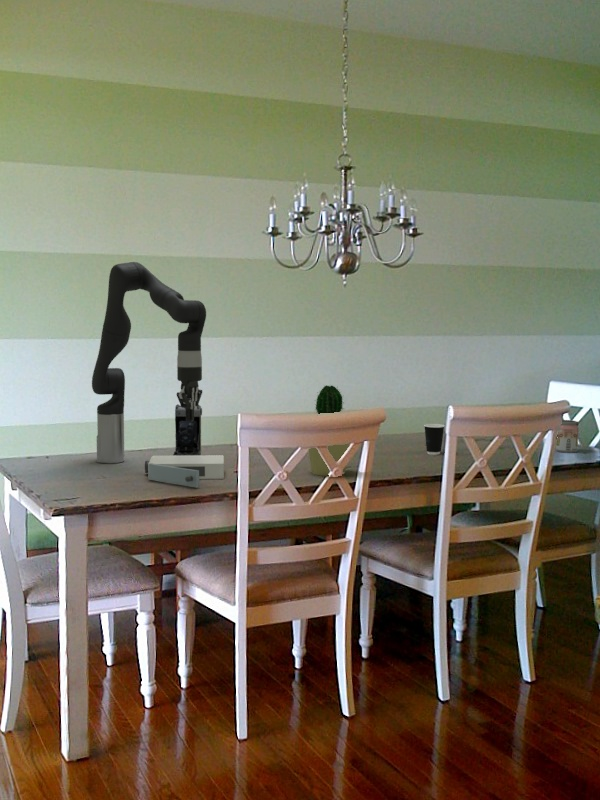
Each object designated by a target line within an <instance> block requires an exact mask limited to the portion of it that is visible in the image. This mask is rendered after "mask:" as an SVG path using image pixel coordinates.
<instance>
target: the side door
mask: <svg viewBox="0 0 600 800" xmlns="http://www.w3.org/2000/svg"><path fill="white" fill-rule="evenodd" d="M148 481H157V482H161V483H168V484H174V485H180V486H186V487H187V486H188V487H190V488H191V487H193V488H199V487H200V479H199V470H192V469H185V468H179V467H172V466H165V465H158V464H153V463H149V480H148Z"/></svg>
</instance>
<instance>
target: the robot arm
mask: <svg viewBox="0 0 600 800" xmlns="http://www.w3.org/2000/svg"><path fill="white" fill-rule="evenodd" d="M137 290H143V291H145V292H147V293H149V297H150V299H151V301H152V303H154V305H156V307H159V308H160V309H162V310H164V312H167V314H168V315H169V317H170V318H171V319H172V320H174V322H177V323H179V324H188V325H187V328H186V330H183V331H181V332H179V333H178V336H177V359H176V360H177V361H176V363H177V367H176V369H177V370H176V372H177V375H176V376H177V377H176V379H177V381H179V382H181V383H180V384H181V385H180V391H178V392H176V398H177V399H178V402H179V405H180V406H181V407H182V408H184V409H185V410H186V421H190V422H191V421H194V409H195V407H196V406H198V405H200V404H199V403H200V400H201V397H202V395H203V389H200V388H199V387H200V386H199V382H201V381H202V380H203V357H202V336H203V335H202V334H203V331H204V327H205V322H206V319H207V309H206V307H205V305H204V303H203V302H202V301H200V300H193V299H192V300H191V299H187V300H186V299H184V296H183V295H182V294H181V293H180V292H178V291H176V290H175V289H173V288H172V287H169V286H168V285H167V284H165V283H163V282H162V281H161V280H159V278H158V277H156V276H155V275H154V274H153V273H152V272H151V271H149V270H148V269H147V267H146V266H144V265H143V264H142V263H139V262H136V261H131V262H124V263H117V264H114V265H113V266H112V267H111V269H110V273H109V277H108V290H107V291H108V292H107V301H106V302H107V303H106V308H105V313H104V314H105V315H104V321H103V325H102V330H101V338H100V343H99V350H98V353H97V354H98V355H97V359H96V362H95V366H94V370H93V371H92V372H93V373H92V377H91V388H92V390H93V393H94V394H95V395H111V398H109V399H108V400H106V401H105V402H103V403H101V404H99V405H98V406H97V408H96V413H97V414H96V415H97V417H96V418H97V419H96V420H97V421H96V422H97V424H96V426H97V435H96V463H101V464H116V463H123V462H125V420H124V419H125V415H124V413H125V411H124V410H125V388H126V380H125V379H126V377H125V372H124V370H123V369H121V368H120V367H115V368H114V367H110V365H111V363H112V362H113V360H114V359H115V358H117V356H118V355H119V354H120V353H121V352H122V351H123V350H124V349H125V348H126V346H127V345H128V343H129V340H130V335H131V329H132V323H131V322H132V321H131V319H130V317H129V315H128V313H127V311H126V309H125V307H124V300H125V295H126V293H127V292H132V291H137Z"/></svg>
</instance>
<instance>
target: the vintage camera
mask: <svg viewBox="0 0 600 800" xmlns="http://www.w3.org/2000/svg"><path fill="white" fill-rule="evenodd" d="M174 408H175V409H174V412H175V413H174V422H175V423H174V424H175V435H174V438H175V451H173V454H172V456H185V455H202V416H203V408H202V406H201V405H200V404H198V406H196V407H195V409H194V421H191V422H190V421H186V410H185V409H184V408H182V407H181V405H180V404H176V405H175V407H174Z"/></svg>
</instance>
